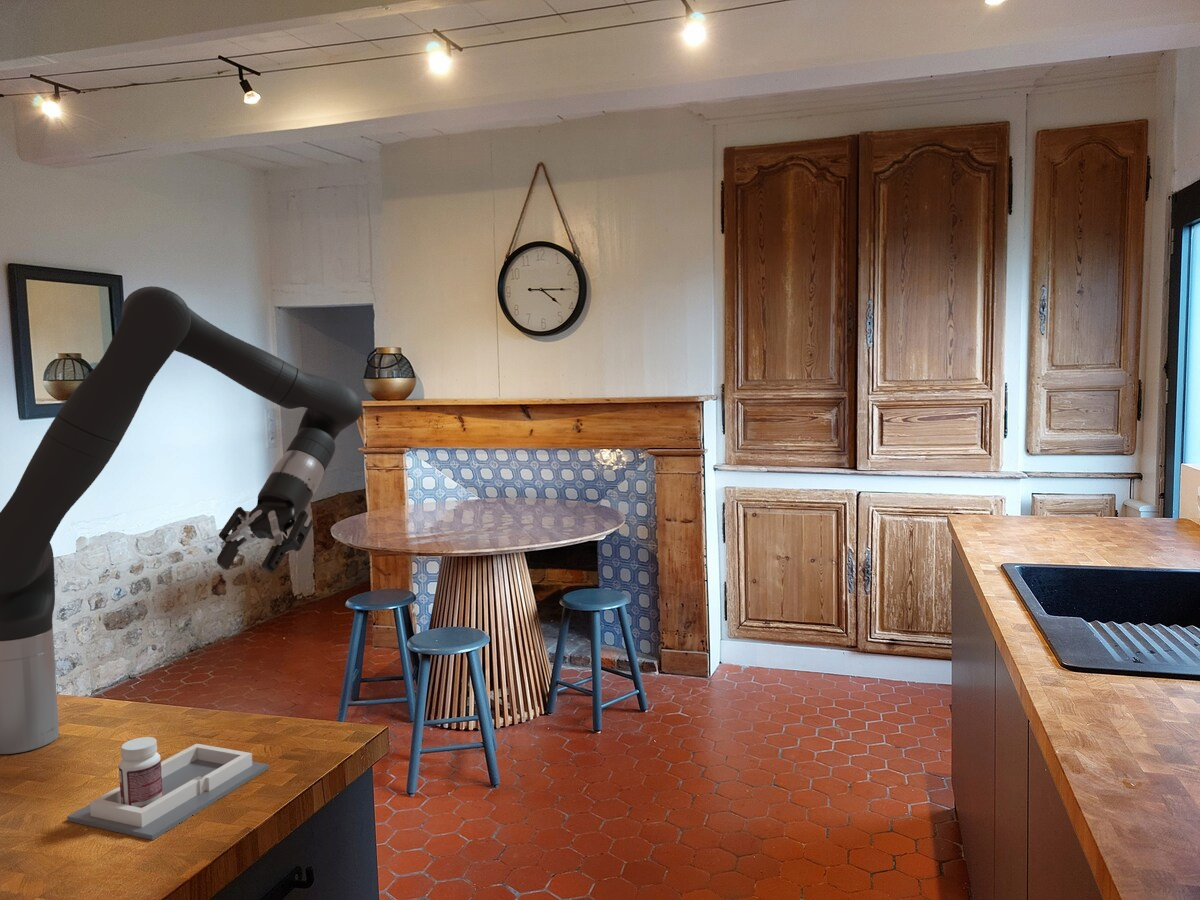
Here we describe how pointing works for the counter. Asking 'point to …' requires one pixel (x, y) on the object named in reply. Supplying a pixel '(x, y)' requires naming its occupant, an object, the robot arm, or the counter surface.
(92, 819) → the walled tray base
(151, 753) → the pill bottle
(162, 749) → the counter surface
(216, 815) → the counter surface
